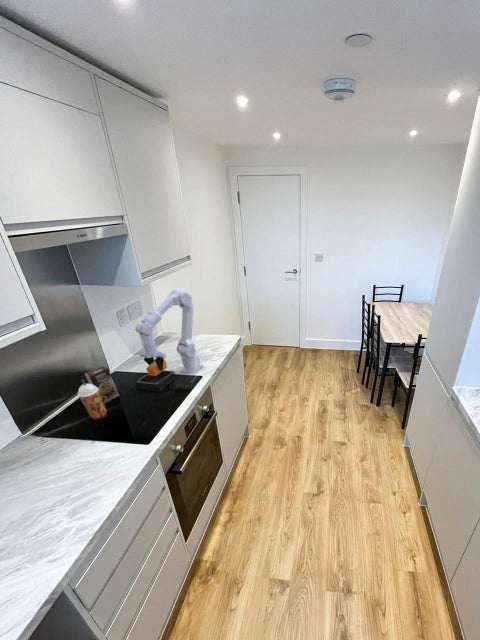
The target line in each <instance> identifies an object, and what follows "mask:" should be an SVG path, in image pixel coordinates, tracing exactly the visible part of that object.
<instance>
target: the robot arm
mask: <svg viewBox="0 0 480 640" xmlns="http://www.w3.org/2000/svg"><path fill="white" fill-rule="evenodd" d="M192 299H193V298H192V295H190V293H189V292H186V291H182V290H177V289H173V290H171V292H170V293H168V294H167V296H166V298H165V299H164V300H163V301H162V302H161V304H160V305H159V306H158V307H157V309H156V310H151V311H148V314H147V315H146V316H145V317H144V318H142V319H141V321H139V322H137V323H136V325H135V328H134V331H135V332H136V333H137V334H138V335H139V338H140V341H141V344H142V347H143V350H144V351H141V352H139V357H140V358H143V357H144V358H143V361H144V362H145V363H146V364H147V365H148V366H149V365H151V364H152V363H154V362H156V364H157V366H158V368H159V370H160V371H161V370H163V361H164V360H165V359H166V358H167V354H166V353H163V352H161V351H158V348H157V345H156V341H155V338H154V335H153V332H154V328H155V327H156V326H157V325H158V324H159V323H160V322H161V321H162V319H163V317H162V316H163V315H164V314H165V313H167V311H169V309H171V308H172V307H173V306H179V307H180V309H181V310H182V314H181V334H180V335H181V336H180V339H179V340H178V342H177V345H176V352H177V354H179V356H180V358H181V362H182V366H183V370H182V371H181V373H188V374H195V372H197V371H198V370H199V369H202V367H203V365H201V362H200V358H199V355H198V354H197V353H196V347H195V343H194V341H193V340H192V339H193V324H194V323H193V322H194V304H193V302H192Z"/></svg>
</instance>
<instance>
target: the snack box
mask: <svg viewBox="0 0 480 640" xmlns="http://www.w3.org/2000/svg"><path fill="white" fill-rule="evenodd" d="M167 368H168V365H167V361H166V360H165V359H164V361H163V370H166V369H167ZM145 369H146V371H147V374H149V375H150V376H156V375H158V374H159V373H160V372H162V371H163V370H161V371H160V370H159V368H158V366H157V364H156V362H155V361H154V363H152V364H151V365H148V366H146V367H145Z"/></svg>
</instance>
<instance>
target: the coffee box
mask: <svg viewBox="0 0 480 640" xmlns="http://www.w3.org/2000/svg"><path fill="white" fill-rule="evenodd" d="M84 375H85V378H86V380H87V382H88V384H93V385H95V386H96V387H98V388H99V392H100V394H101V397H102V400H103V402H104V405H105V404H107V403H109V402H110V401H112V400H113V399H116V398H118V397H120V393H119V391H118V389H117V386H116V384H115V382H114V379H113V377H112V374H111V372H110V370H109V368H108V367H105V366H104V365H103V366H99V367H96V368H94V369H91V370H89V371H86V372H84Z"/></svg>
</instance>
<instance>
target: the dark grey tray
mask: <svg viewBox="0 0 480 640" xmlns="http://www.w3.org/2000/svg"><path fill="white" fill-rule="evenodd" d="M176 378H177V376H176V373H175V371H174V370H166V369H164V370H163V371H162V372H160V373H159V374H158V375H156V376H150V375H149V374H148V373H146V374H144V375H143V376H142V377H140V378H139V379H137V381H135V384H136V386H137V389H140V390H148V391H158V392H160V391H162V390H163V389H164V388H166V387H167V386H168V385H169V384H170V383H171V382H173V381H174V380H176Z"/></svg>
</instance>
